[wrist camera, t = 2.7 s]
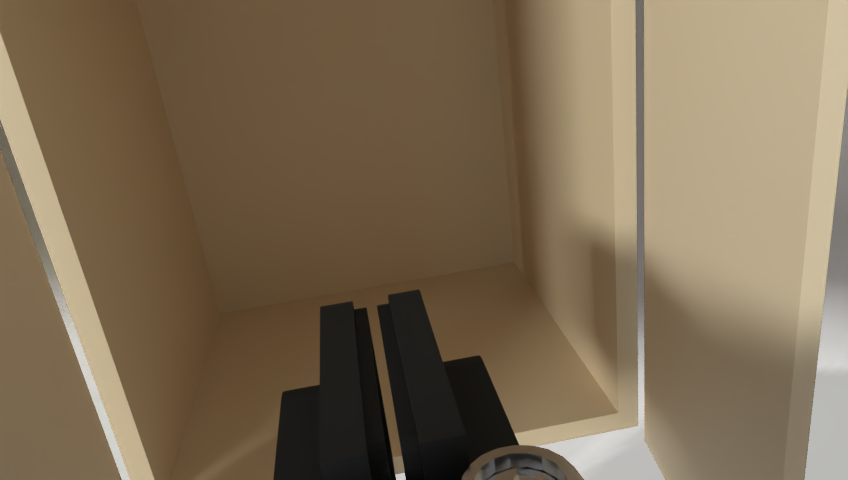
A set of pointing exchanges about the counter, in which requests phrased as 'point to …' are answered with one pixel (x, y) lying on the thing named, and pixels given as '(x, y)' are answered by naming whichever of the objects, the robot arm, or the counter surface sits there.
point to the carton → (329, 203)
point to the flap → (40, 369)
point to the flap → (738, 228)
